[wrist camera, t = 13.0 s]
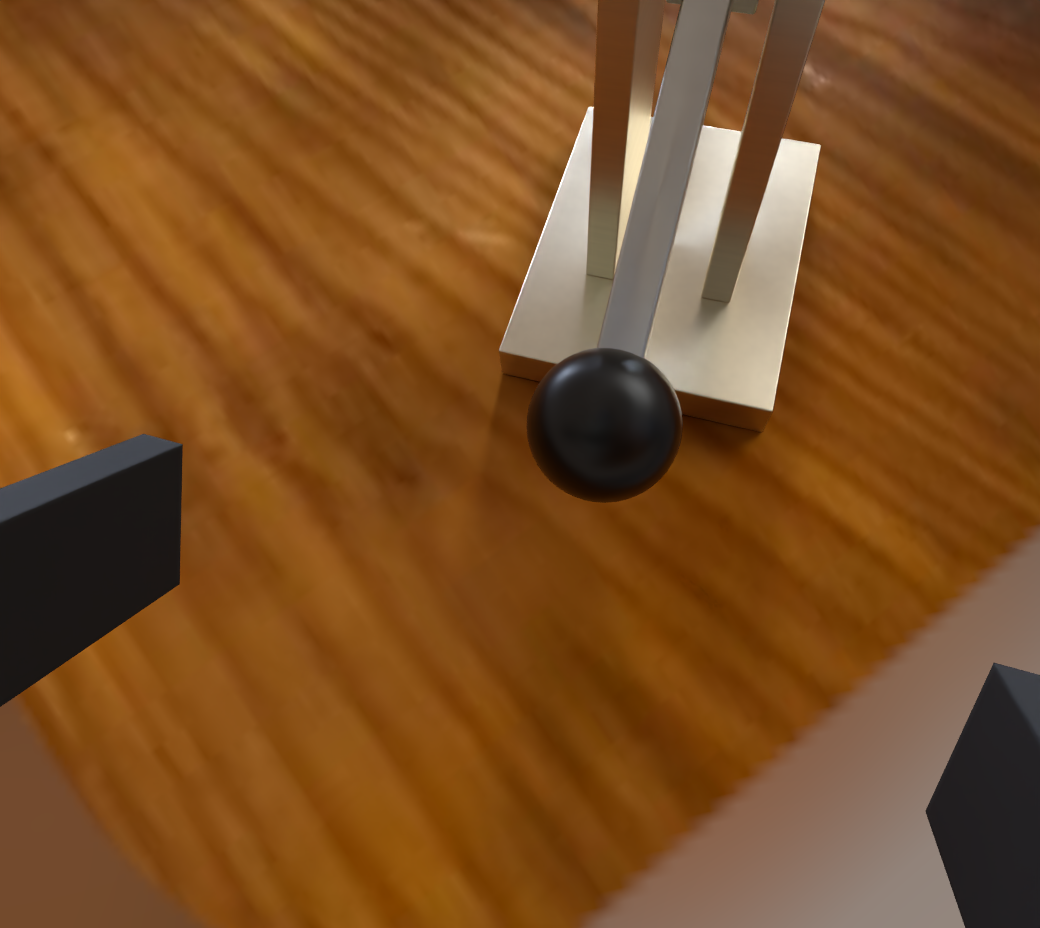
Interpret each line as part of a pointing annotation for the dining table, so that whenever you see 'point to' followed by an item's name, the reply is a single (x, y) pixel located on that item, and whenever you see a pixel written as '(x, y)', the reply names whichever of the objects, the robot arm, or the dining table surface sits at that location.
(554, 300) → the lever bracket
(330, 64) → the dining table surface
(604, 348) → the lever
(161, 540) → the robot arm
